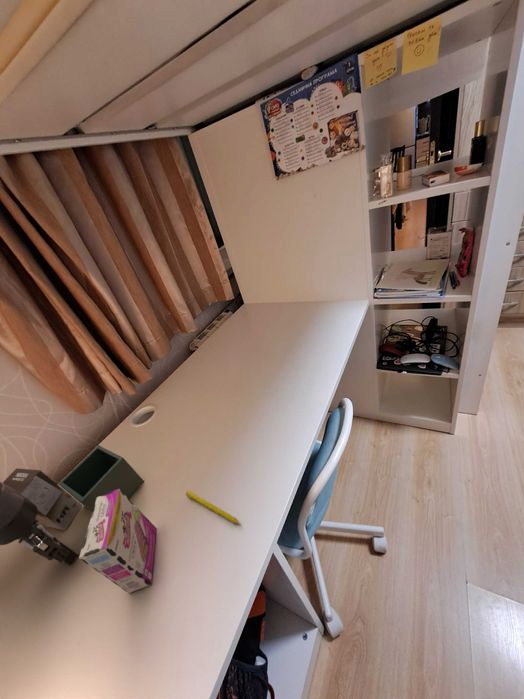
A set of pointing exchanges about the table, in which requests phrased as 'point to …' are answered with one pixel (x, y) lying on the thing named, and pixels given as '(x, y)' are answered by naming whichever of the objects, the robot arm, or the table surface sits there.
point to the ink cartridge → (71, 556)
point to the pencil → (212, 507)
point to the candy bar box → (120, 542)
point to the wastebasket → (100, 477)
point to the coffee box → (45, 497)
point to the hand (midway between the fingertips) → (59, 550)
